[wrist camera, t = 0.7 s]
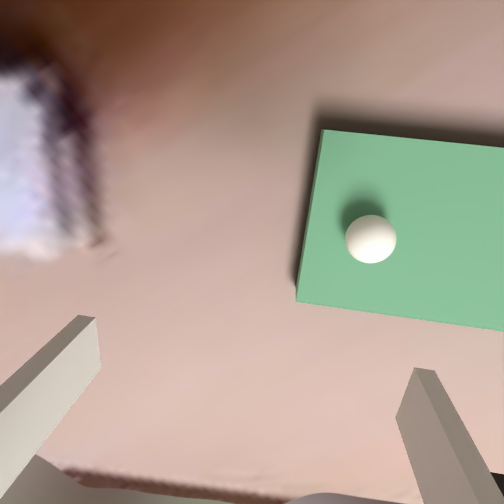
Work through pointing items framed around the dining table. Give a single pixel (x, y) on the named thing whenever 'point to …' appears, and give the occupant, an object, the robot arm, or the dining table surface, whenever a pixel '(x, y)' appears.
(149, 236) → the dining table surface
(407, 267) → the putting mat
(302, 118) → the dining table surface
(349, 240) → the ball
